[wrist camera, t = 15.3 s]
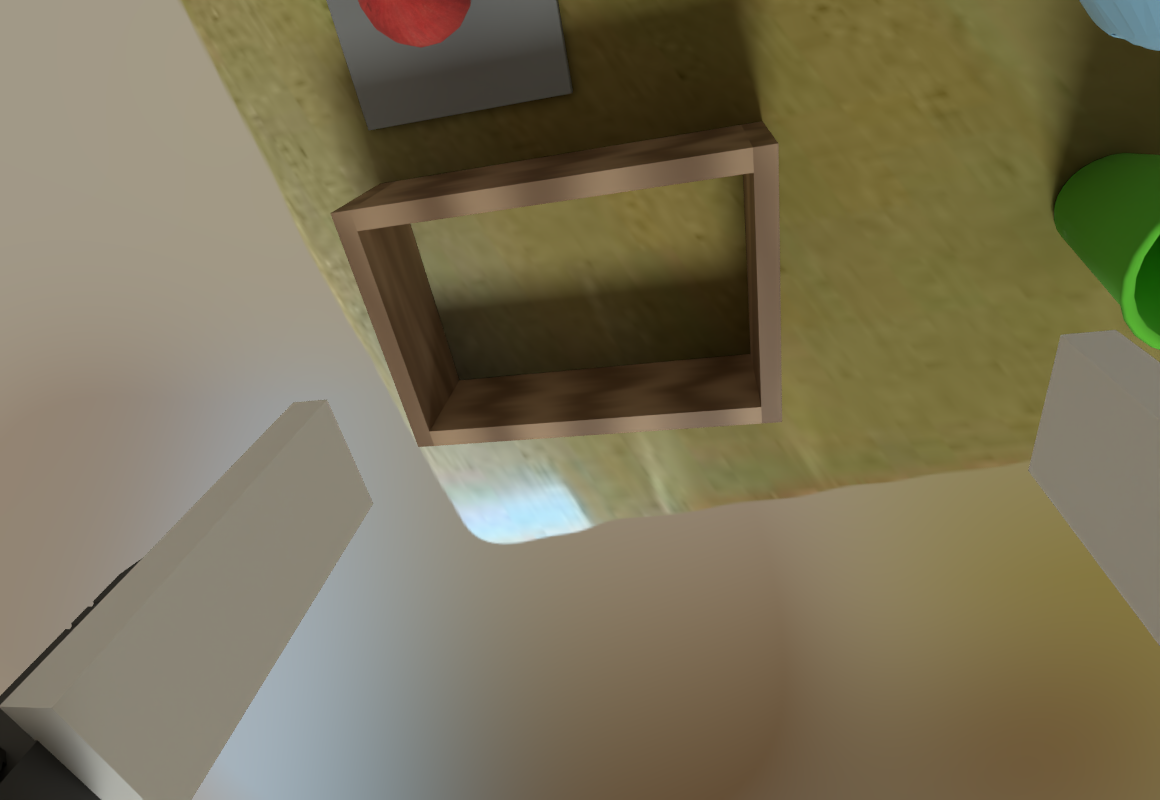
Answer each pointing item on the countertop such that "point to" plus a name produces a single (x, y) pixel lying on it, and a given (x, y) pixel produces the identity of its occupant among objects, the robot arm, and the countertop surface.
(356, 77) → the mat
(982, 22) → the countertop surface
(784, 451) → the countertop surface
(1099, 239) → the cup
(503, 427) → the box
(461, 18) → the onion
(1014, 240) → the countertop surface
